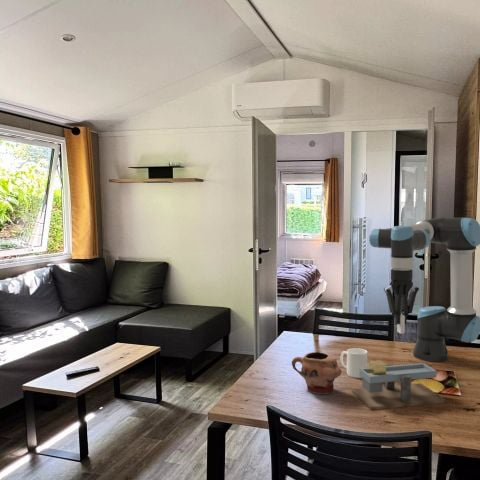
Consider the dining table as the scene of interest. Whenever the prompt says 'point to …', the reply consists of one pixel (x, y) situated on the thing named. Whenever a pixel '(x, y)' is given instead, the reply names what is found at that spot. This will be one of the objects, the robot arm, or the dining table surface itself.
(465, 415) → the dining table surface
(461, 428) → the dining table surface
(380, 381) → the grey long tray
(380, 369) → the block
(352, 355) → the cup
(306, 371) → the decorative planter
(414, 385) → the low stand
